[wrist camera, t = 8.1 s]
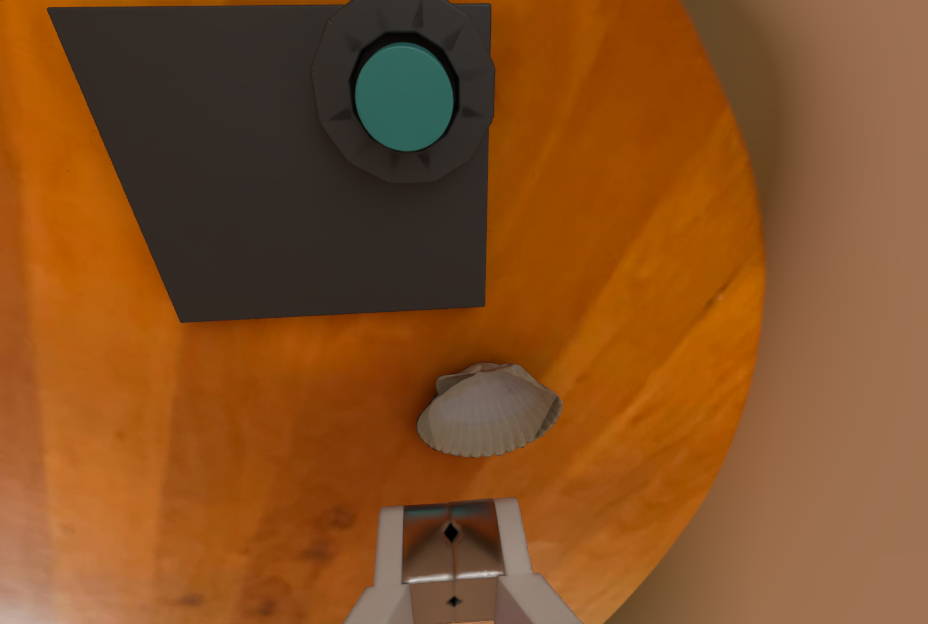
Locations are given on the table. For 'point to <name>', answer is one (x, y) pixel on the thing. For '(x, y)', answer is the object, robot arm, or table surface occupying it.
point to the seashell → (487, 411)
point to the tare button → (404, 97)
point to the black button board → (289, 153)
